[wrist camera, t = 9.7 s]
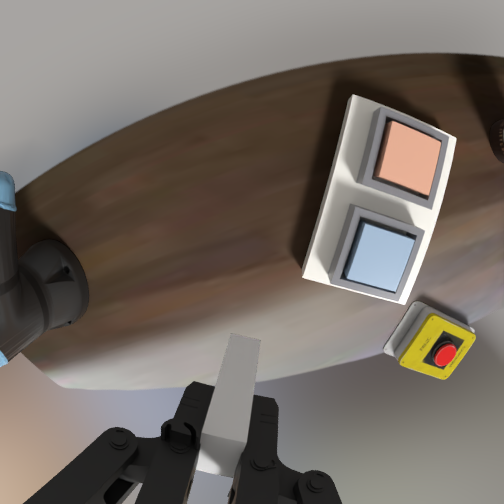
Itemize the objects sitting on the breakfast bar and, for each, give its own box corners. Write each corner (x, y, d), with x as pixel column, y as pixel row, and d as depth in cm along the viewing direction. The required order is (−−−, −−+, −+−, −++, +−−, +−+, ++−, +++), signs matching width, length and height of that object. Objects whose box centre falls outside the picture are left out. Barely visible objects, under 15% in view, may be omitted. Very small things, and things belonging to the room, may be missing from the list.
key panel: (301, 269, 37) (303, 287, 32) (348, 100, 31) (358, 87, 25) (397, 295, 37) (412, 315, 31) (445, 139, 30) (468, 136, 25)
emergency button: (453, 387, 36) (387, 366, 36) (443, 372, 40) (379, 349, 40) (487, 341, 33) (424, 310, 33) (474, 328, 37) (413, 297, 37)
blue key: (343, 270, 32) (346, 278, 30) (359, 219, 31) (365, 223, 28) (389, 283, 32) (395, 291, 30) (406, 235, 30) (414, 240, 28)
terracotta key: (372, 175, 29) (379, 176, 27) (385, 124, 27) (392, 120, 25) (419, 193, 29) (428, 195, 27) (431, 143, 27) (441, 142, 25)
